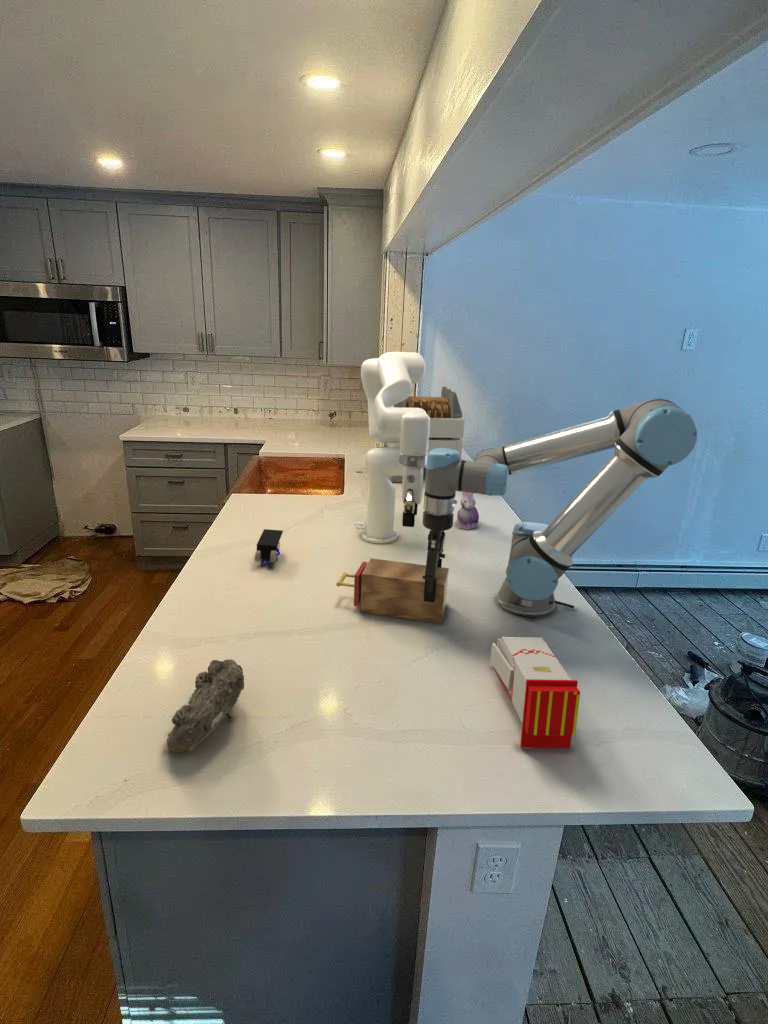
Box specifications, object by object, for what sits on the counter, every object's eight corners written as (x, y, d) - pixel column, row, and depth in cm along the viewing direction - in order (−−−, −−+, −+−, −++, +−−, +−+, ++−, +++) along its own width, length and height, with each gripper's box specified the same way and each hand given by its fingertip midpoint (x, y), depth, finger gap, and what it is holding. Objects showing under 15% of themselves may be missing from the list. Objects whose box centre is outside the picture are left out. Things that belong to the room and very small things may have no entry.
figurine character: (277, 573, 169) (284, 548, 183) (276, 551, 166) (283, 527, 179) (254, 573, 169) (263, 547, 182) (252, 551, 166) (262, 527, 179)
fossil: (192, 660, 117) (244, 628, 112) (224, 691, 120) (276, 661, 115) (142, 746, 98) (202, 712, 93) (182, 779, 101) (242, 748, 96)
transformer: (382, 463, 289) (386, 382, 275) (445, 464, 293) (451, 384, 279) (390, 482, 257) (394, 392, 243) (460, 483, 261) (468, 394, 247)
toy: (539, 620, 128) (589, 687, 99) (533, 674, 131) (581, 755, 102) (485, 619, 128) (521, 686, 99) (481, 673, 131) (514, 755, 101)
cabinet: (360, 611, 148) (361, 573, 144) (369, 594, 157) (370, 558, 153) (441, 623, 144) (444, 584, 140) (445, 604, 153) (449, 568, 149)
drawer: (334, 603, 149) (335, 572, 146) (343, 588, 158) (344, 558, 154) (429, 617, 145) (431, 585, 142) (433, 601, 153) (436, 570, 150)
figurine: (464, 531, 204) (468, 492, 199) (448, 522, 212) (452, 484, 207) (485, 528, 208) (490, 489, 203) (469, 519, 217) (473, 481, 212)
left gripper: (425, 469, 142) (421, 532, 148) (429, 453, 158) (425, 511, 164) (395, 466, 143) (392, 530, 148) (402, 451, 159) (399, 509, 165)
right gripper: (448, 529, 128) (441, 614, 136) (458, 498, 150) (451, 573, 157) (416, 526, 130) (410, 610, 137) (429, 495, 151) (424, 569, 159)
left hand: (409, 520), depth 156 cm, fingers open, 9 cm apart
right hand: (432, 590), depth 147 cm, fingers open, 11 cm apart
